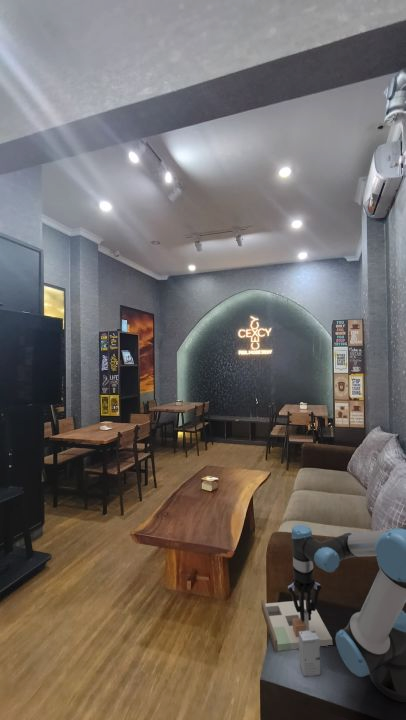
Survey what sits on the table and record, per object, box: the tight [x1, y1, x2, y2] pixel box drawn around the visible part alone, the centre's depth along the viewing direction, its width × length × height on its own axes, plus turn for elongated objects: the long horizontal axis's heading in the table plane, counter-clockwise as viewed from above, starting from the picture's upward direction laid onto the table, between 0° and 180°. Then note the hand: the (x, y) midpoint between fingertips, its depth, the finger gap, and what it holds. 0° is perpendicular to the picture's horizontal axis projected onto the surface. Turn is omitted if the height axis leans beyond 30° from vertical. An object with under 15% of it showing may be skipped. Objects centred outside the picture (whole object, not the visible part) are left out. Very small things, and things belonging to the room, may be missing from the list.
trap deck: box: [260, 599, 334, 652], centre depth 140 cm, size 22×22×4 cm
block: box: [292, 618, 306, 637], centre depth 134 cm, size 4×4×4 cm
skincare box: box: [298, 630, 321, 677], centre depth 120 cm, size 6×4×12 cm
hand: (306, 628), depth 134 cm, fingers closed
